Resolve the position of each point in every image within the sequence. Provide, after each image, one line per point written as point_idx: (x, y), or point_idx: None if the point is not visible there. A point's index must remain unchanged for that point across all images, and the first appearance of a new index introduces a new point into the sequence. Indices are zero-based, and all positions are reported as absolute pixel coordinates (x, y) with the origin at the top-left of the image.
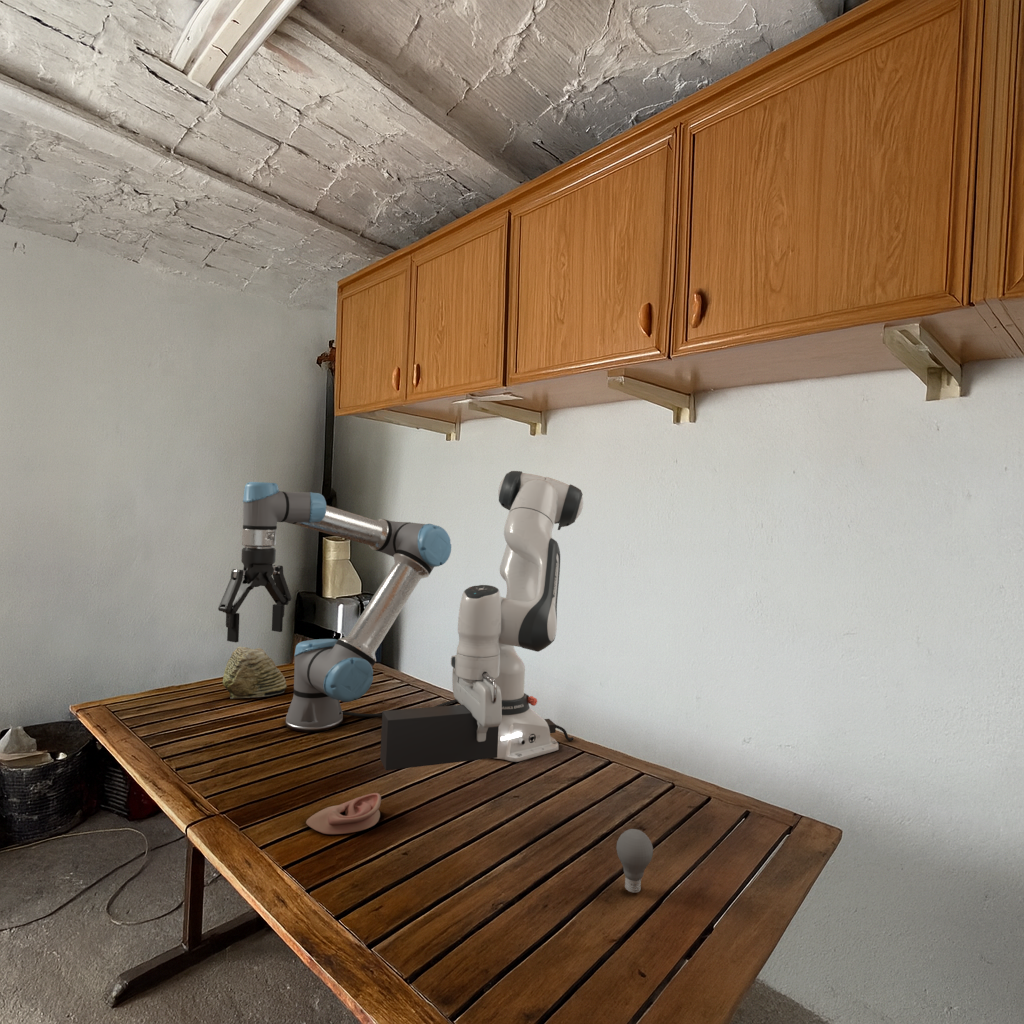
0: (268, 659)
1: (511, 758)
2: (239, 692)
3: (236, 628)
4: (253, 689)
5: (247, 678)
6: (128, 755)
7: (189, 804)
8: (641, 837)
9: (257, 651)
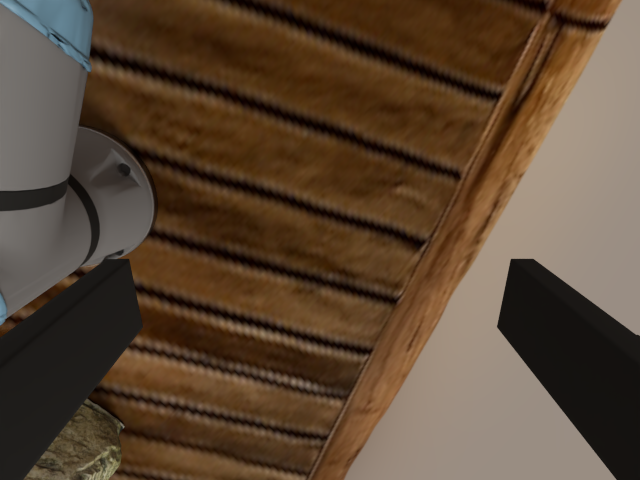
0: None
1: None
2: (108, 423)
3: (600, 309)
4: (79, 412)
5: (77, 439)
6: (411, 354)
7: (532, 100)
8: None
9: None
